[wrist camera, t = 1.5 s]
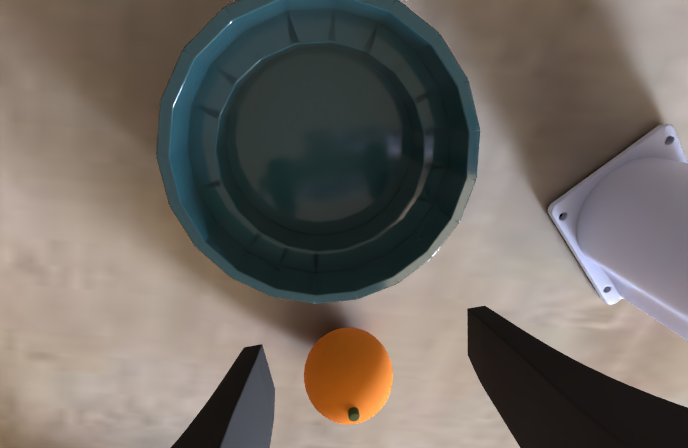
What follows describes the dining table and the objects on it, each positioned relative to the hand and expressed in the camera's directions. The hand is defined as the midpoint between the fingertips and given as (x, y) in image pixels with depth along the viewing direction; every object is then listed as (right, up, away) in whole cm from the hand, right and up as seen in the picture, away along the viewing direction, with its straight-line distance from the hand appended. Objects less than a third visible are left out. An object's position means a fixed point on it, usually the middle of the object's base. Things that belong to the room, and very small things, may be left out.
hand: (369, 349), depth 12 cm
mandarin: (-1, -5, +9) cm, 10 cm away
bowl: (-2, +8, +7) cm, 11 cm away
